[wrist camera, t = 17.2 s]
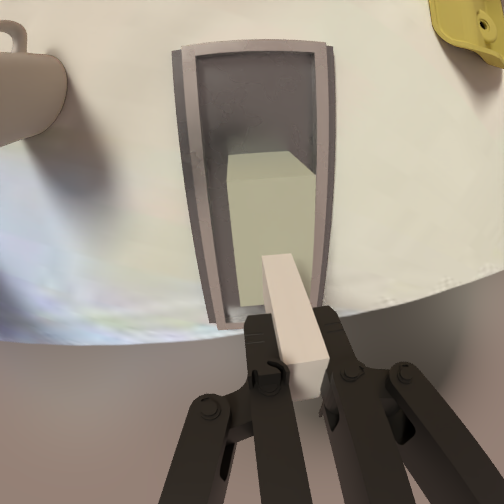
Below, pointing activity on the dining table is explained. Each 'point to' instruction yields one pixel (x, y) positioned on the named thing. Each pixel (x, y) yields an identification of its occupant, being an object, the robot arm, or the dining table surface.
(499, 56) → the plastic component
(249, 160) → the block
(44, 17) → the dining table surface
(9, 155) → the dining table surface
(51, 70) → the mug
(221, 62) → the tray
